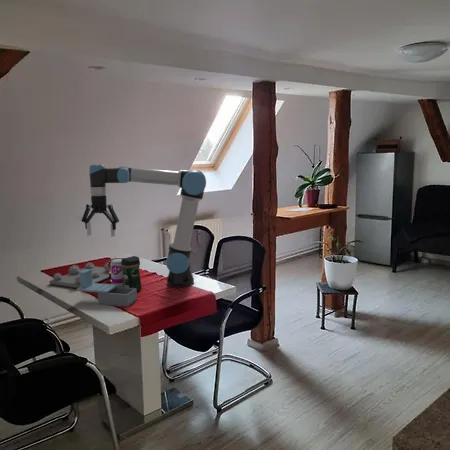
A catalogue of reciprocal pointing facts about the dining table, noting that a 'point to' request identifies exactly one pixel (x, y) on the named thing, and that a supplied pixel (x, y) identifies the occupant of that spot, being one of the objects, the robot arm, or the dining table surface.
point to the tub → (118, 297)
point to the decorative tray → (74, 276)
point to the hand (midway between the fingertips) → (101, 235)
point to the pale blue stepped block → (92, 287)
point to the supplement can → (116, 272)
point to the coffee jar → (131, 272)
